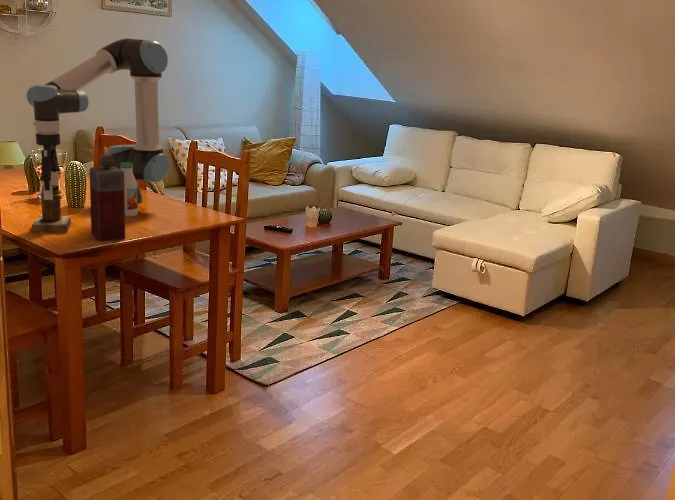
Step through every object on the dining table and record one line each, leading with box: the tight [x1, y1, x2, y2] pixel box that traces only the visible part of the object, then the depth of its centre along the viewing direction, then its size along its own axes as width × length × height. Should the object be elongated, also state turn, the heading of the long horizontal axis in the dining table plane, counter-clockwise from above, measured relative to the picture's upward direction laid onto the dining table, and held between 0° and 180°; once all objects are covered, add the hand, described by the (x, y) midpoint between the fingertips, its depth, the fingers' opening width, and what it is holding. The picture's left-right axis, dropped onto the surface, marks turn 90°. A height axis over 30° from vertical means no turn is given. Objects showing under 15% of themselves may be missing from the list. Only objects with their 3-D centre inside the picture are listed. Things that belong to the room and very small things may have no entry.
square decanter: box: [89, 154, 126, 242], centre depth 233 cm, size 9×11×28 cm
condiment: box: [39, 185, 63, 224], centre depth 238 cm, size 7×8×12 cm
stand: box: [31, 215, 72, 234], centre depth 241 cm, size 11×11×3 cm
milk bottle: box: [120, 162, 139, 218], centre depth 263 cm, size 8×8×20 cm
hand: (51, 194), depth 238 cm, fingers open, 13 cm apart
